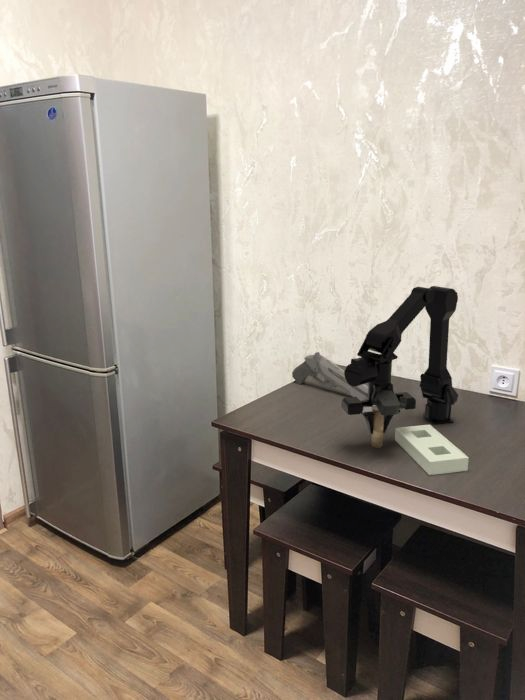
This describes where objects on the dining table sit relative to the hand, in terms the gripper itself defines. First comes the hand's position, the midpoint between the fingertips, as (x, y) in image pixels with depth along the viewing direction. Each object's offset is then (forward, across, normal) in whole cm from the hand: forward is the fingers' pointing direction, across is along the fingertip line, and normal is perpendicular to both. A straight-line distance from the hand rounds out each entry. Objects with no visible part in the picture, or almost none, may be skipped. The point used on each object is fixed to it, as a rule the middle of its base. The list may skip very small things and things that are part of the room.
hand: (377, 433), depth 150 cm
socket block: (+4, +11, -8) cm, 14 cm away
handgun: (+4, 0, +42) cm, 42 cm away
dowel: (+4, 0, 0) cm, 4 cm away
